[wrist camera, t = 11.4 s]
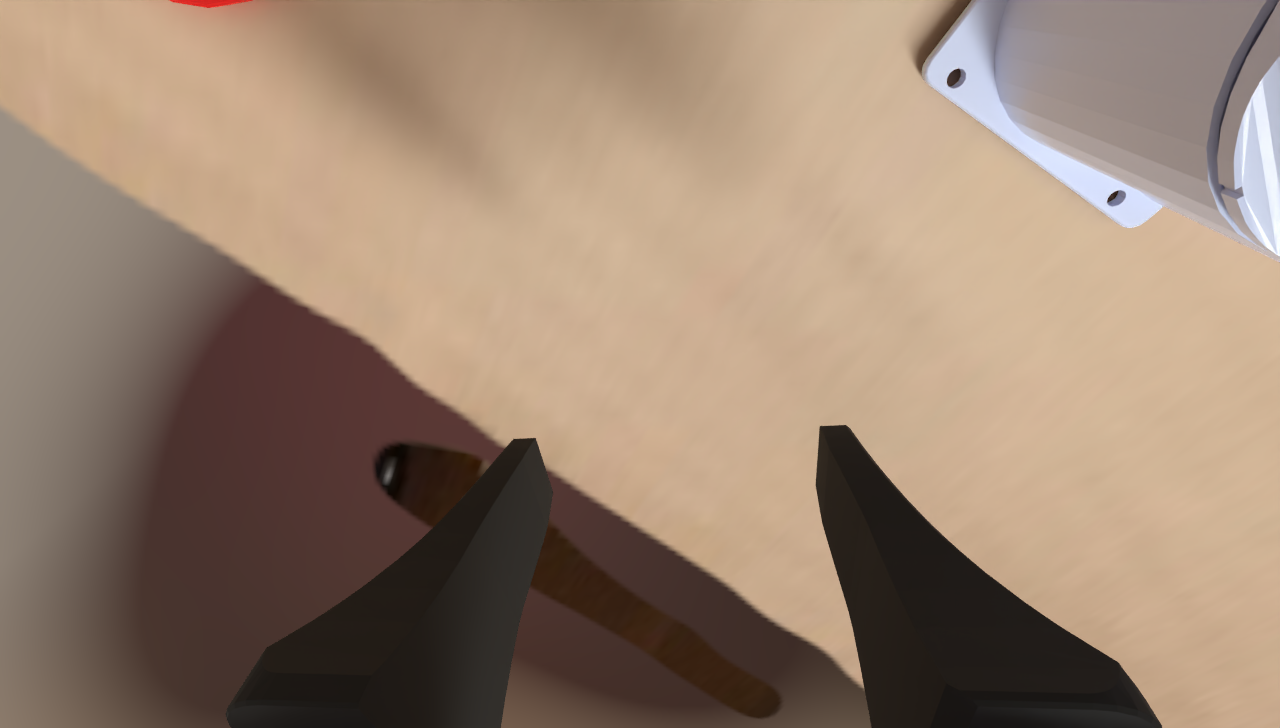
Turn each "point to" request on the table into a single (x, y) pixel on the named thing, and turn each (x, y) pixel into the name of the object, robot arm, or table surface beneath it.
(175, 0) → the tow hook
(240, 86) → the table surface
